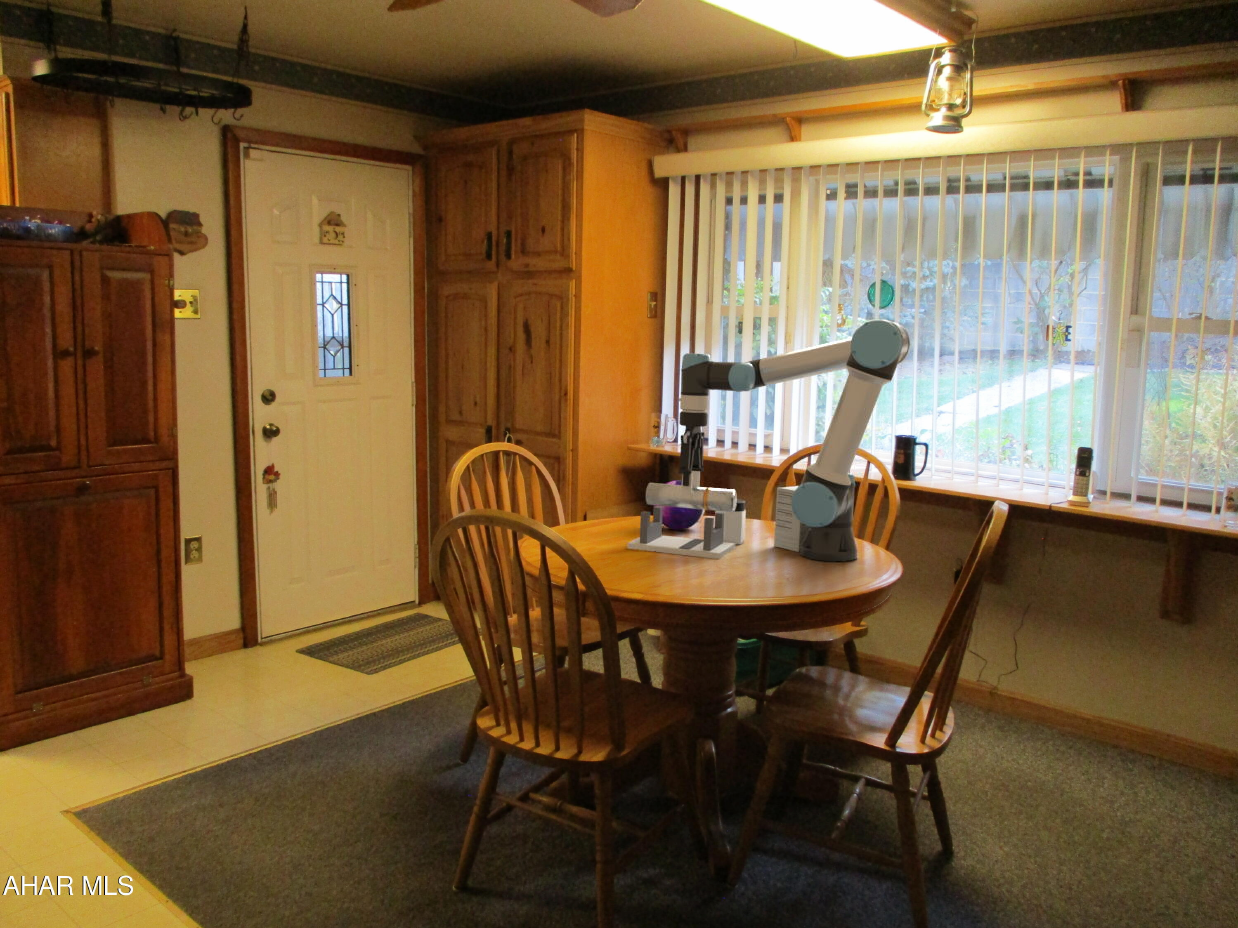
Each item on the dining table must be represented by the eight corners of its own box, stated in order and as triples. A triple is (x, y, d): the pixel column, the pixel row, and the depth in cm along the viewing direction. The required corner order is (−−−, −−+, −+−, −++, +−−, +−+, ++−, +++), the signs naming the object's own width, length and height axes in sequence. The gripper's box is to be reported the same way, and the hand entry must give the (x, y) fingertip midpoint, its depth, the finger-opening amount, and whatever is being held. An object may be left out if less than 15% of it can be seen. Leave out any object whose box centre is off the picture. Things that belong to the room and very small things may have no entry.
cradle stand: (734, 548, 265) (736, 512, 264) (719, 558, 251) (721, 521, 250) (646, 538, 275) (647, 504, 273) (627, 548, 261) (628, 512, 260)
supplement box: (798, 552, 263) (801, 491, 261) (772, 546, 270) (775, 487, 268) (820, 548, 269) (824, 489, 267) (795, 542, 276) (798, 484, 274)
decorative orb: (646, 525, 295) (647, 477, 294) (691, 524, 300) (693, 476, 298) (662, 535, 281) (664, 484, 279) (710, 533, 286) (712, 483, 284)
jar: (750, 543, 273) (752, 501, 272) (730, 546, 268) (732, 503, 267) (728, 537, 280) (729, 497, 279) (708, 540, 275) (709, 499, 274)
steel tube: (737, 505, 260) (736, 485, 257) (731, 516, 255) (730, 496, 252) (654, 498, 269) (652, 478, 266) (646, 508, 264) (644, 488, 261)
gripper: (691, 408, 268) (687, 490, 271) (668, 412, 250) (665, 499, 253) (717, 410, 265) (713, 493, 268) (696, 413, 248) (692, 502, 250)
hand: (690, 496), depth 260 cm, fingers closed on steel tube, 6 cm apart
